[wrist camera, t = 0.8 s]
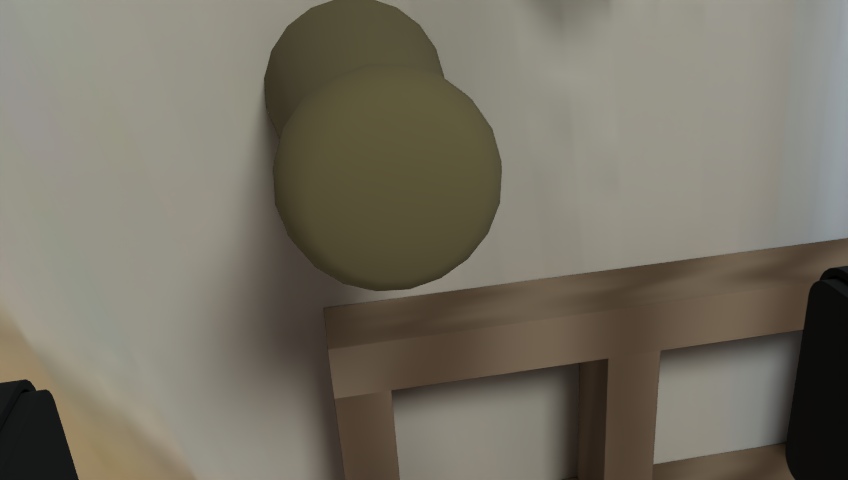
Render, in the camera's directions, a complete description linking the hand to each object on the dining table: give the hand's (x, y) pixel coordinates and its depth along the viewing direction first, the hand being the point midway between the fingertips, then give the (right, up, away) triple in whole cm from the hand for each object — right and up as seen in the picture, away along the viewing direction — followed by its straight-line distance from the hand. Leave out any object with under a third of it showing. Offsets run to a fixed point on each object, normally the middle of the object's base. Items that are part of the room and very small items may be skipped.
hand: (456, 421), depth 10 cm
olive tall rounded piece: (-3, +7, +17) cm, 19 cm away
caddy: (+7, -4, +23) cm, 25 cm away
